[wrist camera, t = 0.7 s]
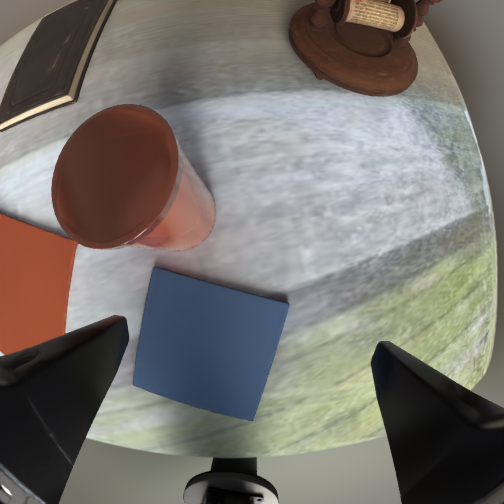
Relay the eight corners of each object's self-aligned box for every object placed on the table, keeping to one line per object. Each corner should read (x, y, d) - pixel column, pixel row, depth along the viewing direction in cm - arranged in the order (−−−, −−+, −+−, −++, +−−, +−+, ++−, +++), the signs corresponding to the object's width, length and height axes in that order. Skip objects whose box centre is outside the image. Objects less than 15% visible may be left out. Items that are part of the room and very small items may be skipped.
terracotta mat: (64, 393, 23) (61, 394, 23) (-12, 338, 24) (-14, 339, 23) (77, 241, 24) (75, 241, 23) (-2, 212, 24) (-5, 211, 23)
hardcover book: (120, -6, 24) (116, -15, 22) (76, 102, 24) (66, 93, 22) (46, 25, 24) (40, 19, 22) (0, 132, 24) (-9, 128, 22)
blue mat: (252, 418, 23) (252, 421, 23) (134, 383, 23) (132, 385, 23) (289, 303, 23) (289, 304, 23) (155, 266, 23) (153, 266, 23)
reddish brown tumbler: (206, 261, 23) (151, 268, 10) (135, 242, 24) (37, 229, 11) (227, 185, 24) (199, 111, 11) (156, 169, 24) (81, 102, 11)
